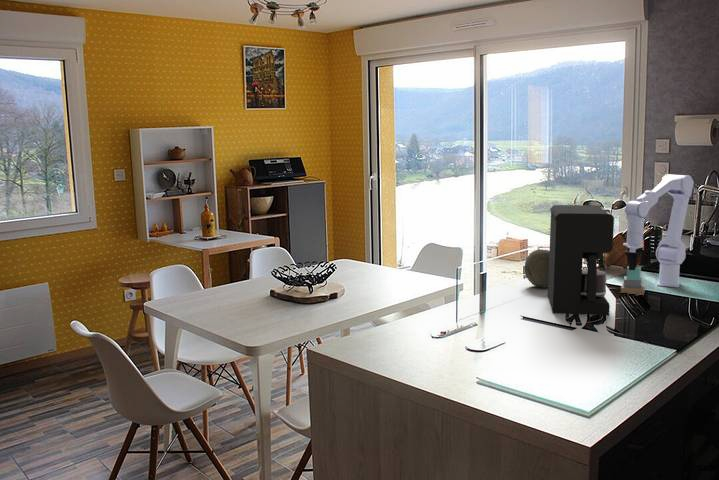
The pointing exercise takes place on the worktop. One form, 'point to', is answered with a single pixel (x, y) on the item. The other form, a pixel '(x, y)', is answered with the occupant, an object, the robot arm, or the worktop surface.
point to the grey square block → (632, 283)
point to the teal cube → (634, 273)
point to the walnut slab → (633, 290)
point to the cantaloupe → (538, 268)
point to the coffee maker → (578, 258)
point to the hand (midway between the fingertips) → (633, 267)
